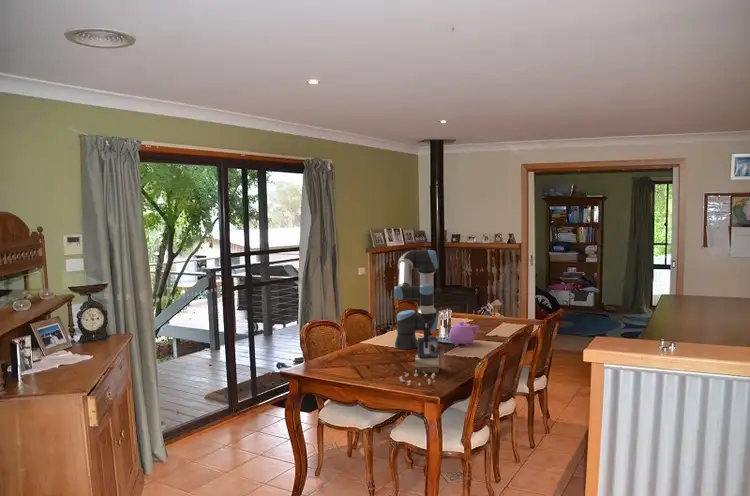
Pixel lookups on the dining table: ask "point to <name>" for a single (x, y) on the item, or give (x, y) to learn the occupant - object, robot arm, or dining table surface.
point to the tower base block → (427, 369)
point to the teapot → (462, 334)
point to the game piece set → (417, 375)
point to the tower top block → (426, 362)
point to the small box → (432, 348)
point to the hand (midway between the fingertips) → (427, 350)
